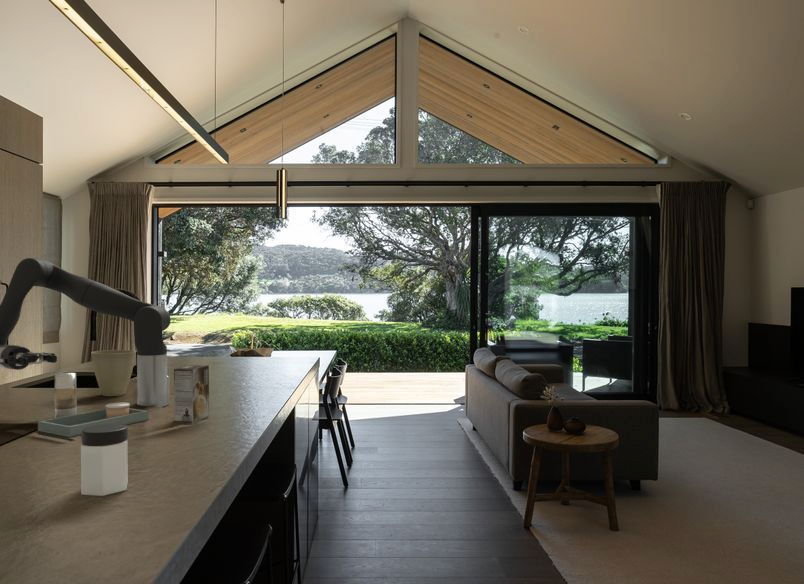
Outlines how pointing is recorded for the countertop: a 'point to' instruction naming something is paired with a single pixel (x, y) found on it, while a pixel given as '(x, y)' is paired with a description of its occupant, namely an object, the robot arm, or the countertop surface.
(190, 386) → the coffee box
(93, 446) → the jar
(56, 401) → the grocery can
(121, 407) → the small lidded tub
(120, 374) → the plant pot
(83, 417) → the tray
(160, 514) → the countertop surface
